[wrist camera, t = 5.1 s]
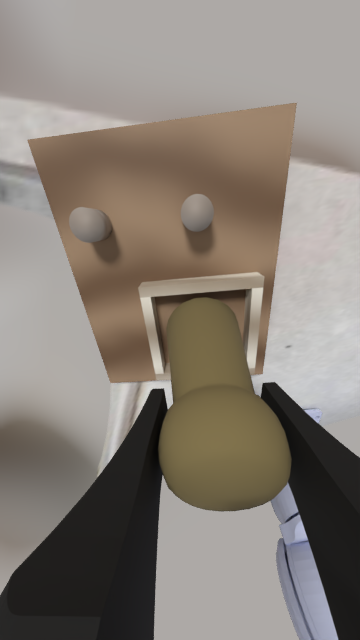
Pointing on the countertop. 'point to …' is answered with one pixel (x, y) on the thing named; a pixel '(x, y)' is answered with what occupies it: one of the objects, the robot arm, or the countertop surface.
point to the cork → (217, 416)
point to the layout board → (170, 226)
